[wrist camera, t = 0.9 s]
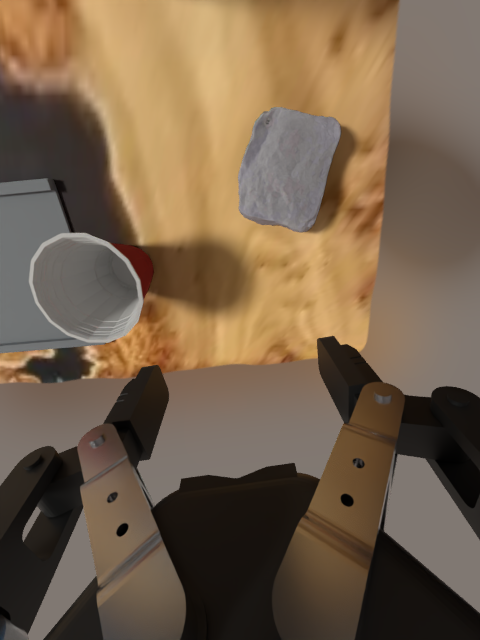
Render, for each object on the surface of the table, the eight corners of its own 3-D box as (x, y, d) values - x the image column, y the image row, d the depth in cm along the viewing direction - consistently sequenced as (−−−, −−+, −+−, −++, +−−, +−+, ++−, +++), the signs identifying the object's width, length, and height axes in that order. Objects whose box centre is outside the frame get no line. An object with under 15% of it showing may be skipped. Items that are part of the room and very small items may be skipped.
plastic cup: (132, 205, 32) (77, 205, 21) (187, 275, 35) (166, 306, 25) (73, 255, 34) (-4, 279, 23) (131, 316, 38) (88, 361, 27)
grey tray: (53, 179, 30) (46, 178, 29) (108, 340, 39) (104, 344, 38) (-101, 194, 31) (-113, 194, 30) (-12, 350, 40) (-18, 354, 39)
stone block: (237, 220, 34) (310, 234, 34) (229, 219, 30) (314, 235, 29) (254, 113, 30) (339, 126, 29) (248, 94, 26) (349, 109, 25)
